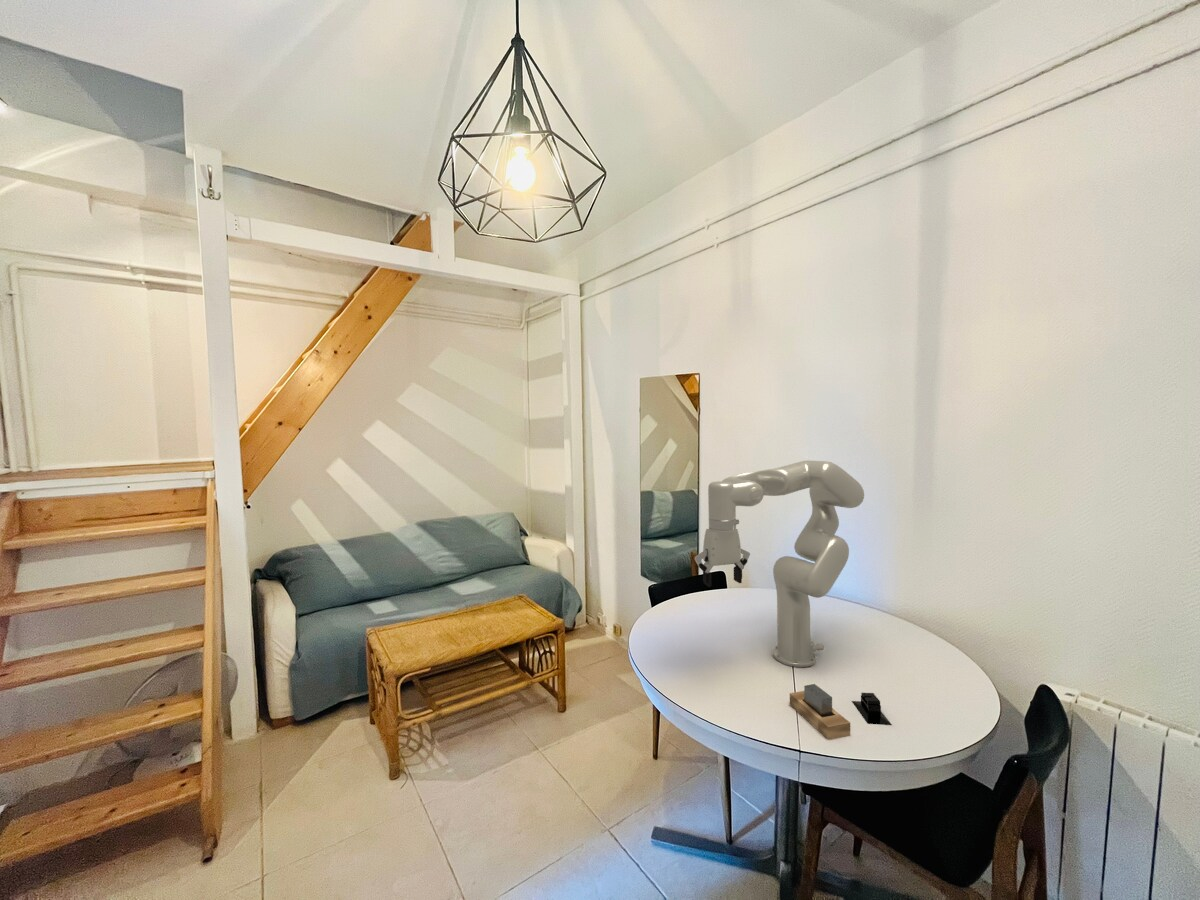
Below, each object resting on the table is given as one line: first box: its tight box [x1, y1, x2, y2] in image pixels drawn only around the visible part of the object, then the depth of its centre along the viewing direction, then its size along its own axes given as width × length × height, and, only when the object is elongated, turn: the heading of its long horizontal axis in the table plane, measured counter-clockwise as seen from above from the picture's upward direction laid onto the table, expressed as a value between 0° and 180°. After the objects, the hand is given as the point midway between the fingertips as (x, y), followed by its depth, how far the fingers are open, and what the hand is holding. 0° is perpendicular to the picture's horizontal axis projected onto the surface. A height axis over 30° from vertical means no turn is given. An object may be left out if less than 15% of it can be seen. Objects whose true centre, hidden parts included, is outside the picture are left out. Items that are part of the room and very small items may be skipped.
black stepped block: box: [851, 692, 893, 726], centre depth 113 cm, size 12×7×5 cm, turn 172°
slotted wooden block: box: [789, 690, 851, 741], centre depth 111 cm, size 14×6×3 cm, turn 13°
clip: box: [803, 683, 833, 717], centre depth 111 cm, size 6×3×7 cm, turn 14°
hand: (722, 583), depth 130 cm, fingers open, 9 cm apart
